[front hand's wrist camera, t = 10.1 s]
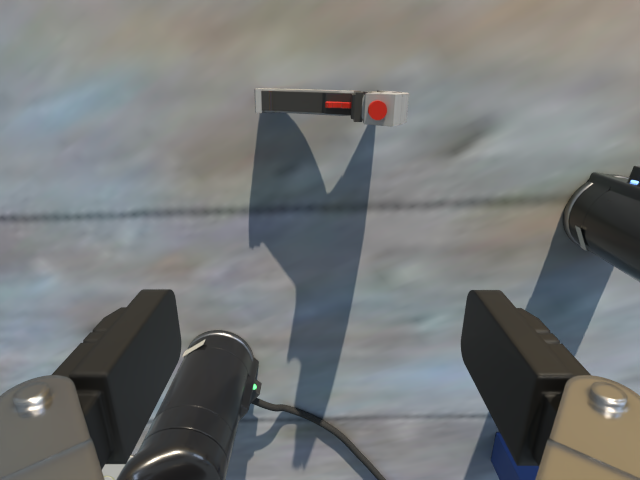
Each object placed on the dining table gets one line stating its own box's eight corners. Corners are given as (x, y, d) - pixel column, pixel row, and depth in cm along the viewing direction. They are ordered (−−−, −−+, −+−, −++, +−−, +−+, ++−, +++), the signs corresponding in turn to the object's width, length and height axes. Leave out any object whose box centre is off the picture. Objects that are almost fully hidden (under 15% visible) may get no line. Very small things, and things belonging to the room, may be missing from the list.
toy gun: (220, 90, 32) (419, 94, 31) (263, 87, 47) (397, 91, 46) (222, 121, 33) (415, 127, 32) (264, 109, 48) (395, 113, 47)
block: (523, 432, 64) (561, 497, 54) (517, 460, 66) (552, 528, 56) (496, 432, 64) (528, 497, 54) (490, 460, 66) (521, 528, 56)
